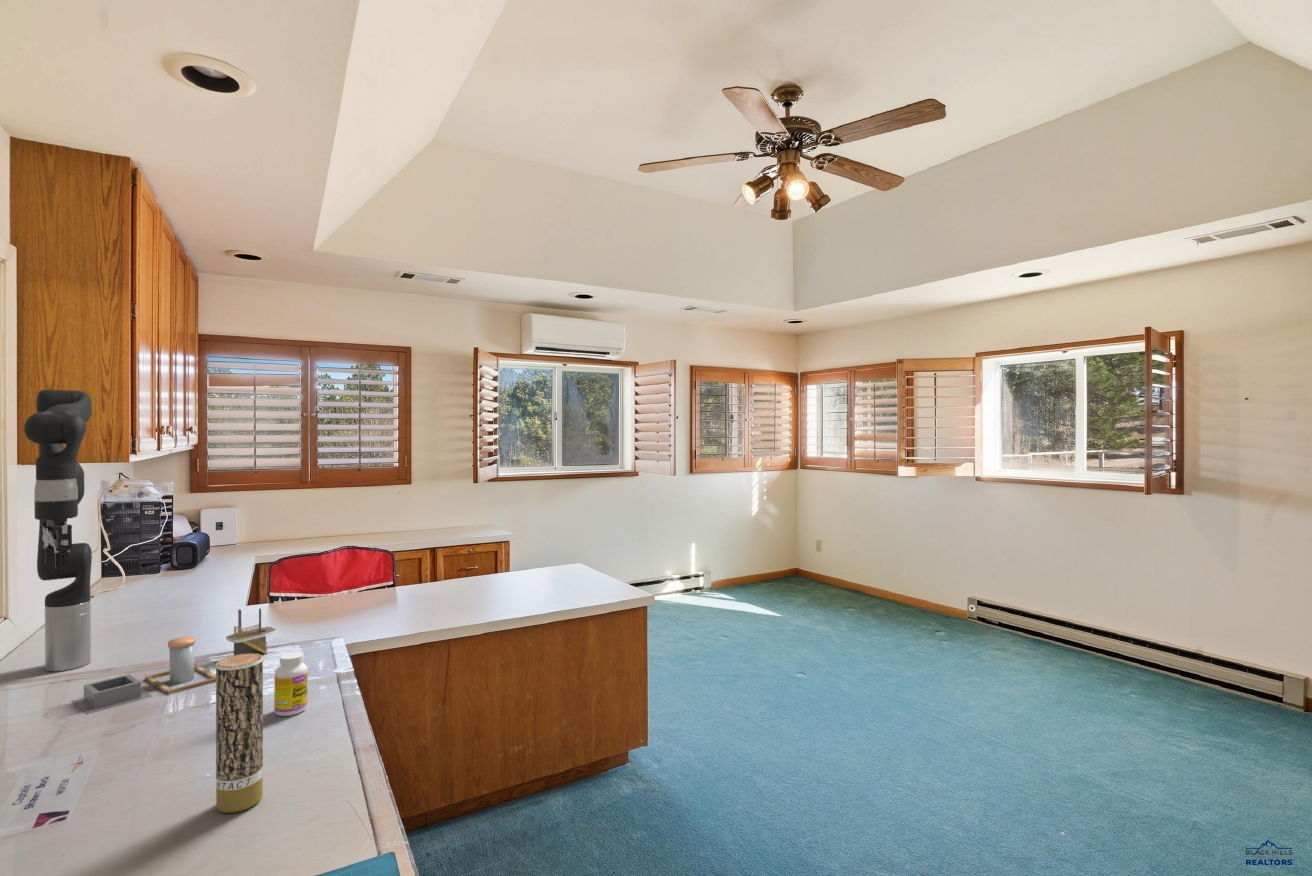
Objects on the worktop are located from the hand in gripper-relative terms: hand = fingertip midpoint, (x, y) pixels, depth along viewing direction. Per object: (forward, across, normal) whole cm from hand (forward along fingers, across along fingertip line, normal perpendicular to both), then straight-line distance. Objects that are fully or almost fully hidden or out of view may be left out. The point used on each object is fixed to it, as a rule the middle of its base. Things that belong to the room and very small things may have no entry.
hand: (56, 566), depth 152 cm
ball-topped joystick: (+32, -13, -21) cm, 40 cm away
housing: (+32, -13, -7) cm, 35 cm away
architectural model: (+33, -4, -41) cm, 53 cm away
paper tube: (+32, -81, -7) cm, 87 cm away
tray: (+32, -13, -21) cm, 41 cm away
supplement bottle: (+32, -50, -30) cm, 67 cm away
